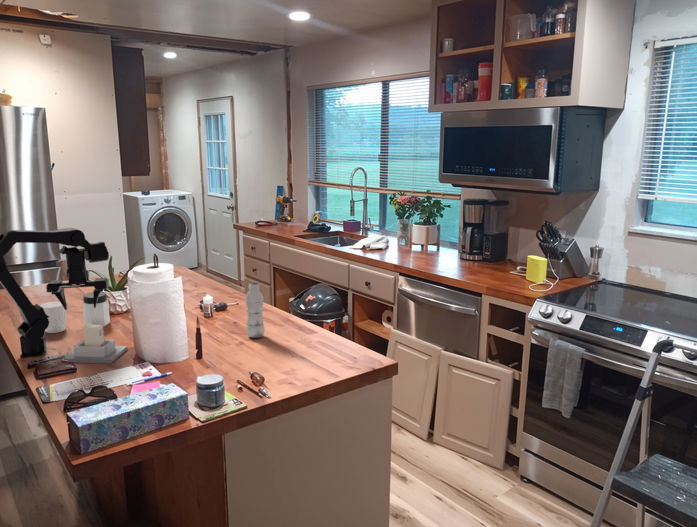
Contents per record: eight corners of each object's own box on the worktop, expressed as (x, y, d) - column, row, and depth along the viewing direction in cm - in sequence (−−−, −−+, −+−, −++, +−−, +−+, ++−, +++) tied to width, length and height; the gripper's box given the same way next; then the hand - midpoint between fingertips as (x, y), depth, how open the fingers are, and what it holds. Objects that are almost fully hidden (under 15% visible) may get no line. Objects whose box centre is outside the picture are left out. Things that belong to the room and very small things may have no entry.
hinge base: (62, 361, 177) (60, 349, 176) (81, 348, 189) (80, 336, 188) (110, 363, 177) (109, 351, 176) (127, 349, 188) (126, 337, 187)
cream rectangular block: (85, 353, 181) (82, 327, 179) (90, 350, 184) (87, 324, 182) (101, 354, 181) (99, 328, 179) (106, 350, 184) (104, 325, 182)
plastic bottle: (261, 340, 198) (259, 286, 194) (243, 339, 199) (241, 285, 195) (267, 334, 204) (266, 282, 200) (250, 333, 206) (248, 280, 201)
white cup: (38, 331, 204) (35, 305, 202) (58, 325, 211) (55, 300, 209) (52, 335, 201) (49, 308, 199) (72, 328, 208) (69, 303, 205)
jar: (80, 325, 211) (77, 295, 209) (99, 319, 218) (96, 290, 216) (95, 329, 207) (92, 298, 204) (114, 323, 214) (111, 293, 211)
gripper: (108, 258, 199) (112, 300, 203) (51, 261, 194) (56, 303, 198) (104, 265, 189) (108, 309, 192) (43, 268, 184) (48, 313, 187)
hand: (80, 308), depth 193 cm, fingers open, 9 cm apart
